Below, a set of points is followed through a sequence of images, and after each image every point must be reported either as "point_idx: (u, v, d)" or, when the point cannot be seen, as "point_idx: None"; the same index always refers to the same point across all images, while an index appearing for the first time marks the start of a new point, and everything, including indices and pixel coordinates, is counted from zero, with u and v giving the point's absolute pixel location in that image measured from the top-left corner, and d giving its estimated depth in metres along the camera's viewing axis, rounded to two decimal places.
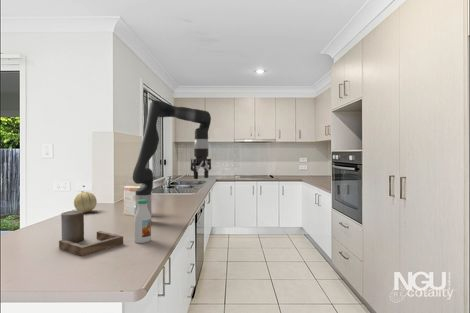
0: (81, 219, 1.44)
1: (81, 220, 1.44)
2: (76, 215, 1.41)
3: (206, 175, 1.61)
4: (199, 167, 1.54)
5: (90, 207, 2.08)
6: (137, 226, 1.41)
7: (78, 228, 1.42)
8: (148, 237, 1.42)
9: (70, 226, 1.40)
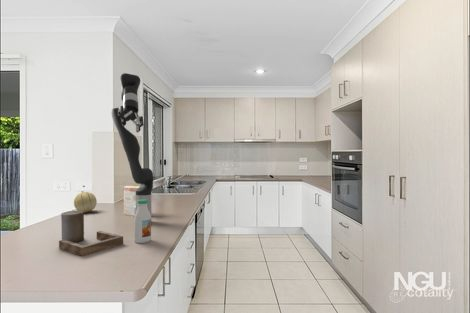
0: (81, 219, 1.44)
1: (81, 220, 1.44)
2: (76, 215, 1.41)
3: (138, 128, 1.53)
4: (127, 114, 1.49)
5: (90, 207, 2.08)
6: (137, 226, 1.41)
7: (78, 228, 1.42)
8: (148, 237, 1.42)
9: (70, 226, 1.40)
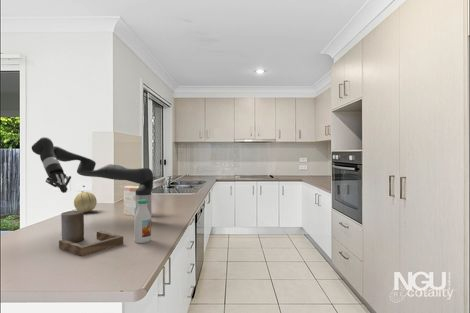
0: (81, 219, 1.44)
1: (81, 220, 1.44)
2: (76, 215, 1.41)
3: None
4: (59, 180, 1.55)
5: (90, 207, 2.08)
6: (137, 226, 1.41)
7: (78, 228, 1.42)
8: (148, 237, 1.42)
9: (70, 226, 1.40)
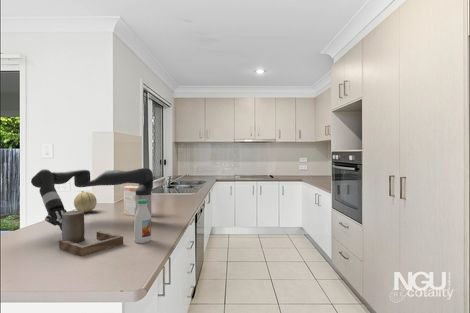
0: (81, 219, 1.43)
1: (82, 220, 1.43)
2: (77, 215, 1.41)
3: None
4: (59, 218, 1.47)
5: (90, 207, 2.08)
6: (137, 226, 1.41)
7: (78, 228, 1.42)
8: (148, 237, 1.42)
9: (71, 226, 1.40)
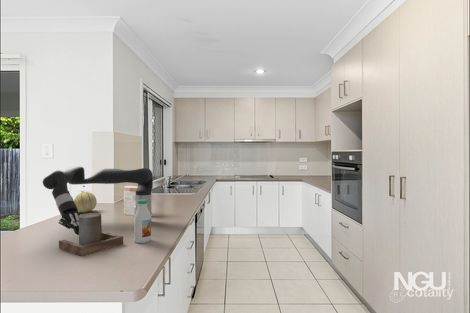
0: (100, 221, 1.40)
1: (100, 222, 1.40)
2: (97, 217, 1.37)
3: None
4: (73, 221, 1.41)
5: (90, 207, 2.08)
6: (137, 226, 1.41)
7: (99, 230, 1.38)
8: (148, 237, 1.42)
9: (92, 228, 1.35)
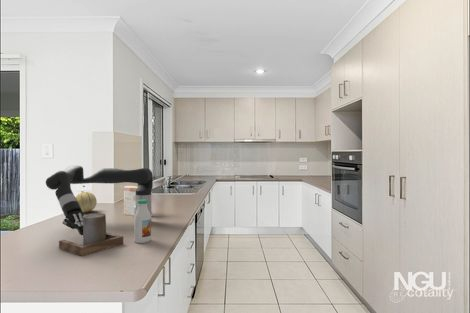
0: (105, 221, 1.39)
1: (105, 222, 1.39)
2: (102, 217, 1.37)
3: None
4: (77, 221, 1.40)
5: (90, 207, 2.08)
6: (137, 226, 1.41)
7: (103, 230, 1.38)
8: (148, 237, 1.42)
9: (97, 229, 1.35)
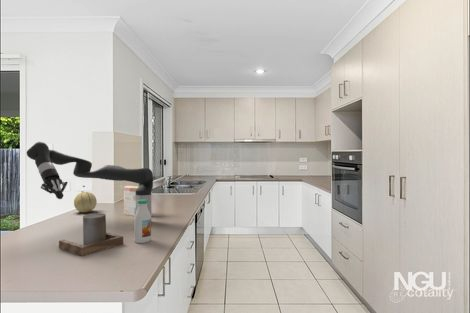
0: (105, 221, 1.39)
1: (105, 222, 1.39)
2: (102, 217, 1.37)
3: None
4: (55, 186, 1.50)
5: (90, 207, 2.08)
6: (137, 226, 1.41)
7: (103, 230, 1.38)
8: (148, 237, 1.42)
9: (97, 229, 1.35)
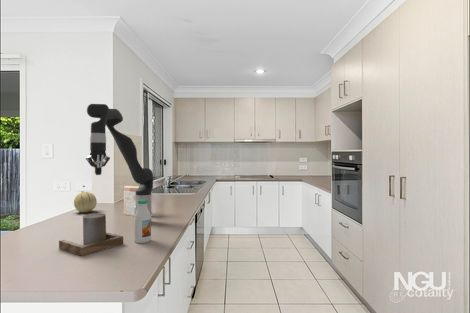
0: (105, 221, 1.39)
1: (105, 222, 1.39)
2: (102, 217, 1.37)
3: None
4: (98, 162, 1.55)
5: (90, 207, 2.08)
6: (137, 226, 1.41)
7: (103, 230, 1.38)
8: (148, 237, 1.42)
9: (97, 229, 1.35)
